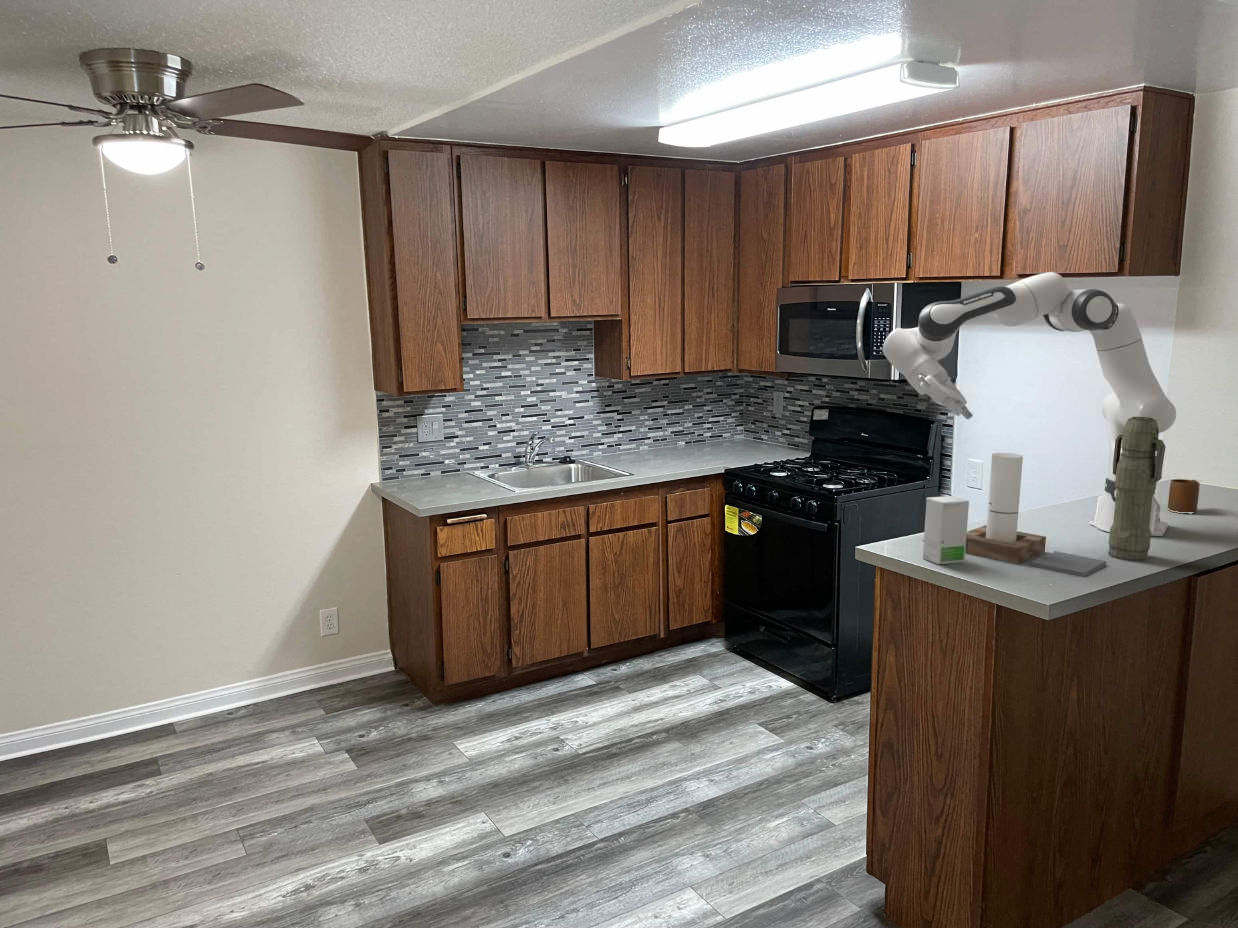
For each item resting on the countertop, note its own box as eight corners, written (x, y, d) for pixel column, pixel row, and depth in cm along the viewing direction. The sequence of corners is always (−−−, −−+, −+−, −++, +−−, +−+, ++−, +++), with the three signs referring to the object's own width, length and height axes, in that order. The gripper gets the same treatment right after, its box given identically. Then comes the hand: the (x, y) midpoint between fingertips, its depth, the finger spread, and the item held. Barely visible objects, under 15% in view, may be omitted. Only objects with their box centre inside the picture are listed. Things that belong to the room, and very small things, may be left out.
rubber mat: (1055, 554, 228) (1055, 551, 228) (1106, 564, 219) (1106, 560, 219) (1031, 565, 219) (1031, 561, 218) (1083, 576, 210) (1084, 572, 210)
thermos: (1143, 564, 219) (1158, 422, 213) (1095, 553, 229) (1108, 416, 223) (1161, 559, 224) (1177, 419, 218) (1113, 548, 234) (1127, 414, 228)
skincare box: (938, 565, 219) (942, 502, 216) (920, 558, 225) (924, 497, 222) (966, 562, 222) (970, 500, 219) (948, 555, 228) (952, 494, 225)
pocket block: (984, 539, 242) (985, 525, 242) (1044, 551, 231) (1046, 536, 230) (955, 550, 232) (956, 535, 231) (1017, 564, 220) (1018, 548, 219)
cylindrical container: (1007, 547, 235) (1014, 452, 230) (1020, 555, 228) (1028, 457, 223) (980, 547, 235) (987, 452, 230) (992, 555, 228) (1000, 457, 223)
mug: (1180, 505, 282) (1183, 476, 281) (1207, 510, 276) (1210, 480, 275) (1162, 511, 275) (1166, 480, 274) (1190, 515, 269) (1193, 484, 268)
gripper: (926, 364, 228) (963, 402, 222) (949, 375, 244) (984, 411, 238) (907, 381, 230) (944, 420, 224) (931, 391, 247) (966, 427, 241)
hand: (965, 415), depth 231 cm, fingers open, 8 cm apart
